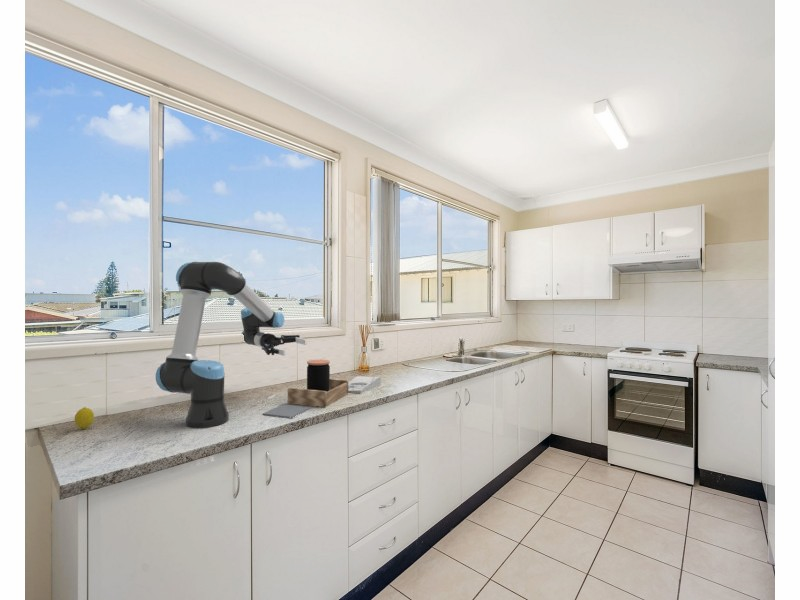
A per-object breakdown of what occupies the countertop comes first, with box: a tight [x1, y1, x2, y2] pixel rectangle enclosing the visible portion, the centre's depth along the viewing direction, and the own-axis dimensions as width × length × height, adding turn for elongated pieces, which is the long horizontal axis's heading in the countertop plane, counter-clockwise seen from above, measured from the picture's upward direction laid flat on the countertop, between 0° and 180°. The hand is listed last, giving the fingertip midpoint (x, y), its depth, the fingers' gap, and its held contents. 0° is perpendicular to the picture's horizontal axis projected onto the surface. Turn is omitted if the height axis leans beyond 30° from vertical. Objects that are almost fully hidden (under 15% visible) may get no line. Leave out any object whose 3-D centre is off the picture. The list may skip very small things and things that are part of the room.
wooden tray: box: [287, 378, 349, 408], centre depth 185 cm, size 19×24×7 cm
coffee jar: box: [306, 359, 331, 392], centre depth 185 cm, size 11×11×18 cm
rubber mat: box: [262, 403, 311, 419], centre depth 164 cm, size 14×14×1 cm
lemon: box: [74, 406, 95, 430], centre depth 141 cm, size 6×6×8 cm
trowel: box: [348, 375, 382, 394], centre depth 205 cm, size 28×16×5 cm, turn 136°
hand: (295, 347), depth 182 cm, fingers open, 13 cm apart
